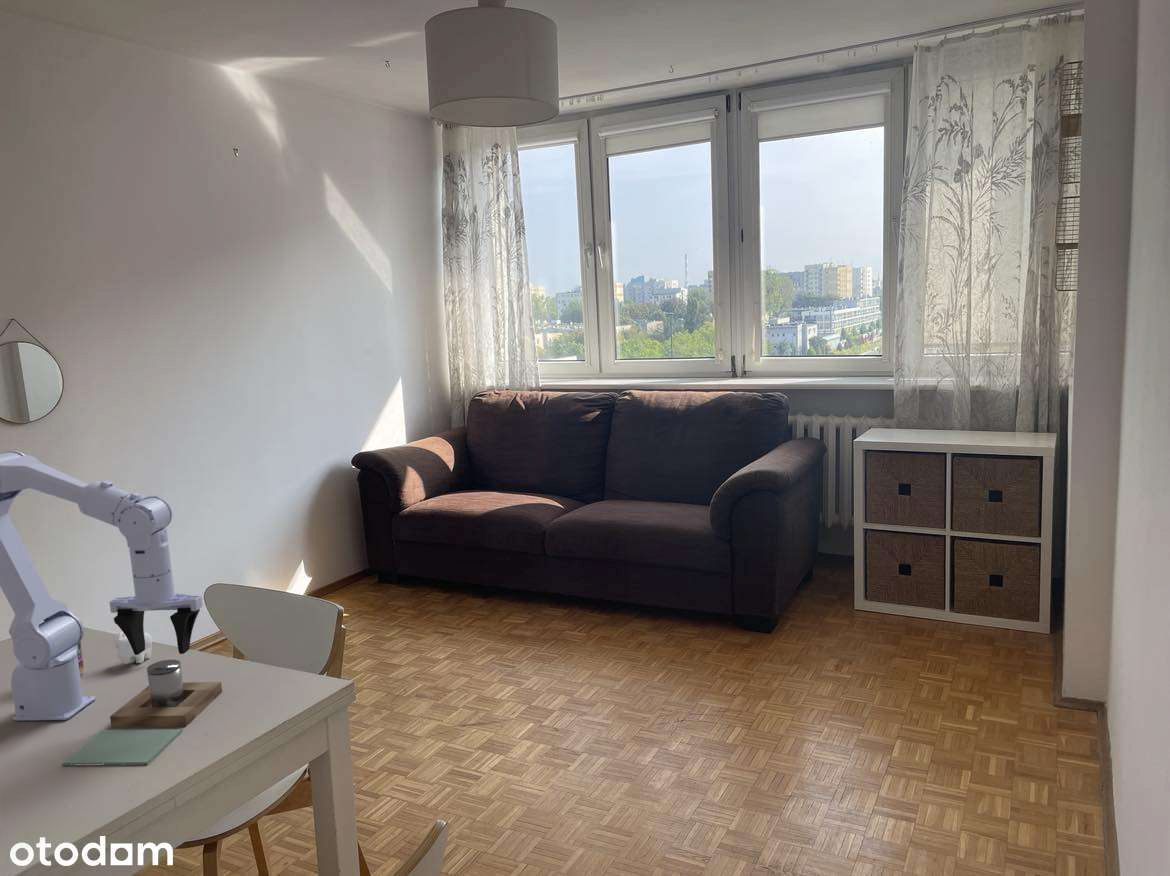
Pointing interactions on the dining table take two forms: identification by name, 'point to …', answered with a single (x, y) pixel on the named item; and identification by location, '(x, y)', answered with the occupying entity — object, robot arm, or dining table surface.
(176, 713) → the collar
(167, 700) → the metal cylinder
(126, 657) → the elephant figurine
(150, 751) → the mat
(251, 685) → the dining table surface
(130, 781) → the dining table surface
